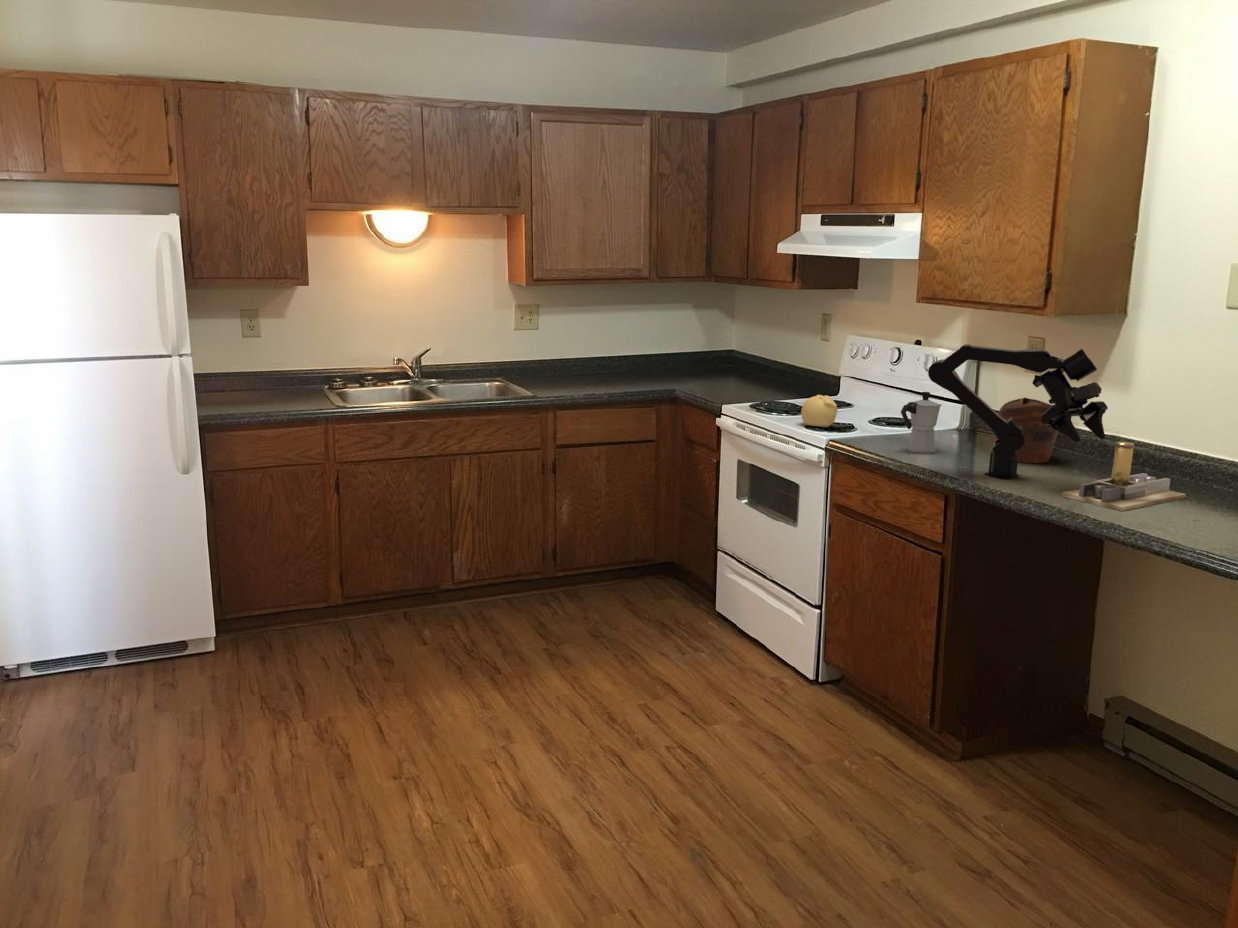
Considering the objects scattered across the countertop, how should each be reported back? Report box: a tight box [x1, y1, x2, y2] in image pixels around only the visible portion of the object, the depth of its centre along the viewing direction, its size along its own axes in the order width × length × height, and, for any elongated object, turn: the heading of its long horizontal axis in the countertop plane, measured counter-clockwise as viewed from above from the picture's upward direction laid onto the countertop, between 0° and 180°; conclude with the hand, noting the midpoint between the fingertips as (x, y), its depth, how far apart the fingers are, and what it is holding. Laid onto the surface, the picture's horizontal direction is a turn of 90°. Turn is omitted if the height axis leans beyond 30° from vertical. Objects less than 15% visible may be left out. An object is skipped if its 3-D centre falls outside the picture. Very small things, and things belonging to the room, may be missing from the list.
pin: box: [1110, 441, 1135, 486], centre depth 249 cm, size 4×4×13 cm
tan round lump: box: [800, 394, 838, 428], centre depth 340 cm, size 12×12×11 cm
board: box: [1061, 488, 1187, 512], centre depth 252 cm, size 16×27×1 cm, turn 122°
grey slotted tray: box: [1078, 472, 1171, 503], centre depth 252 cm, size 8×27×3 cm, turn 121°
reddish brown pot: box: [997, 396, 1059, 464], centre depth 294 cm, size 18×20×18 cm
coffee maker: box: [900, 391, 942, 455], centre depth 301 cm, size 15×9×18 cm, turn 113°
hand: (1091, 440), depth 254 cm, fingers open, 9 cm apart
